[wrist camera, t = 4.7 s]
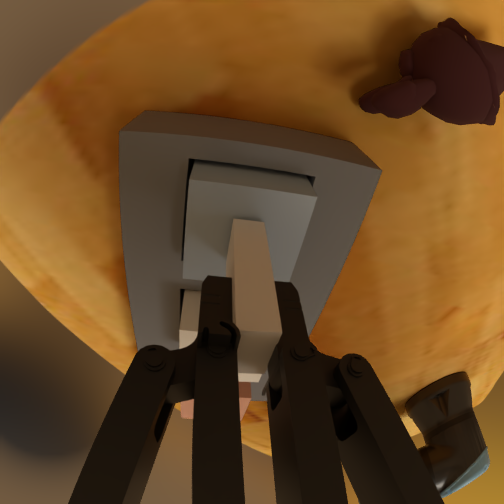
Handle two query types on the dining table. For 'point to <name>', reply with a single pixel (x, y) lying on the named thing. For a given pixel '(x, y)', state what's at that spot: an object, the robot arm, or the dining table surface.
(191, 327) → the white key
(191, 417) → the terracotta key
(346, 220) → the key panel
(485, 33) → the dining table surface
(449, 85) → the dark brown irregular piece
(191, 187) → the slate key
